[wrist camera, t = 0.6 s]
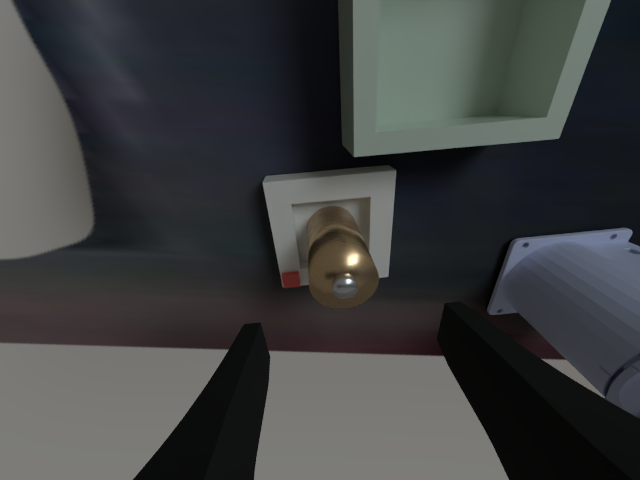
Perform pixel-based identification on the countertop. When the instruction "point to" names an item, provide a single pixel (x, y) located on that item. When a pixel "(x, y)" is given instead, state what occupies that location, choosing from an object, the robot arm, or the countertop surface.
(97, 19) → the countertop surface
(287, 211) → the white square recessed tray
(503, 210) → the countertop surface
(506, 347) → the robot arm
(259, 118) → the countertop surface
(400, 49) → the grey-green square tray
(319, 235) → the cell
